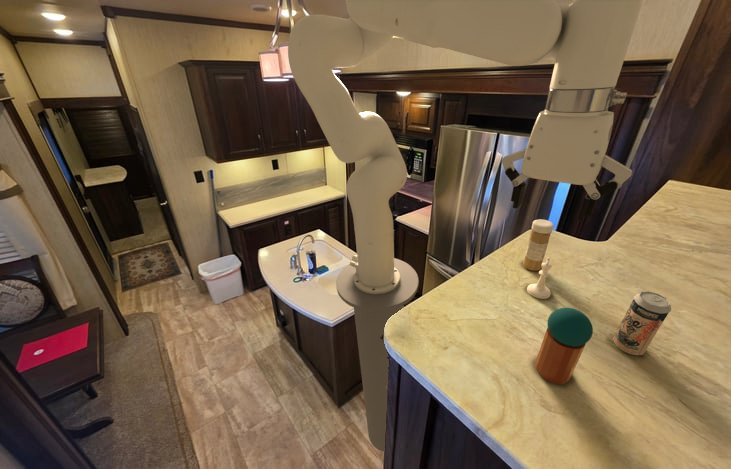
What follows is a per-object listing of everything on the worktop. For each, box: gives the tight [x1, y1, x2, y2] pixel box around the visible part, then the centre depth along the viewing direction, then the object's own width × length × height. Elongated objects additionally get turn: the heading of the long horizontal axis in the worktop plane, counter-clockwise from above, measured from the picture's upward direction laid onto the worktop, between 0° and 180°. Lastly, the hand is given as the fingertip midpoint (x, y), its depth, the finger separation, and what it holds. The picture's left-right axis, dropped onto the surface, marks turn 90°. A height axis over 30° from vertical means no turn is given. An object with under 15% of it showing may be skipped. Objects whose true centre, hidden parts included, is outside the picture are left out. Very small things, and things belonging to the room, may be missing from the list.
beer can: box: [612, 290, 672, 356], centre depth 52 cm, size 5×5×12 cm
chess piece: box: [526, 256, 552, 300], centre depth 67 cm, size 5×5×10 cm
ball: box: [547, 307, 594, 346], centre depth 46 cm, size 6×6×6 cm
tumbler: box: [534, 327, 587, 385], centre depth 50 cm, size 5×5×9 cm
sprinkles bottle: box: [522, 218, 554, 272], centre depth 75 cm, size 5×5×13 cm
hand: (547, 211), depth 49 cm, fingers open, 9 cm apart
